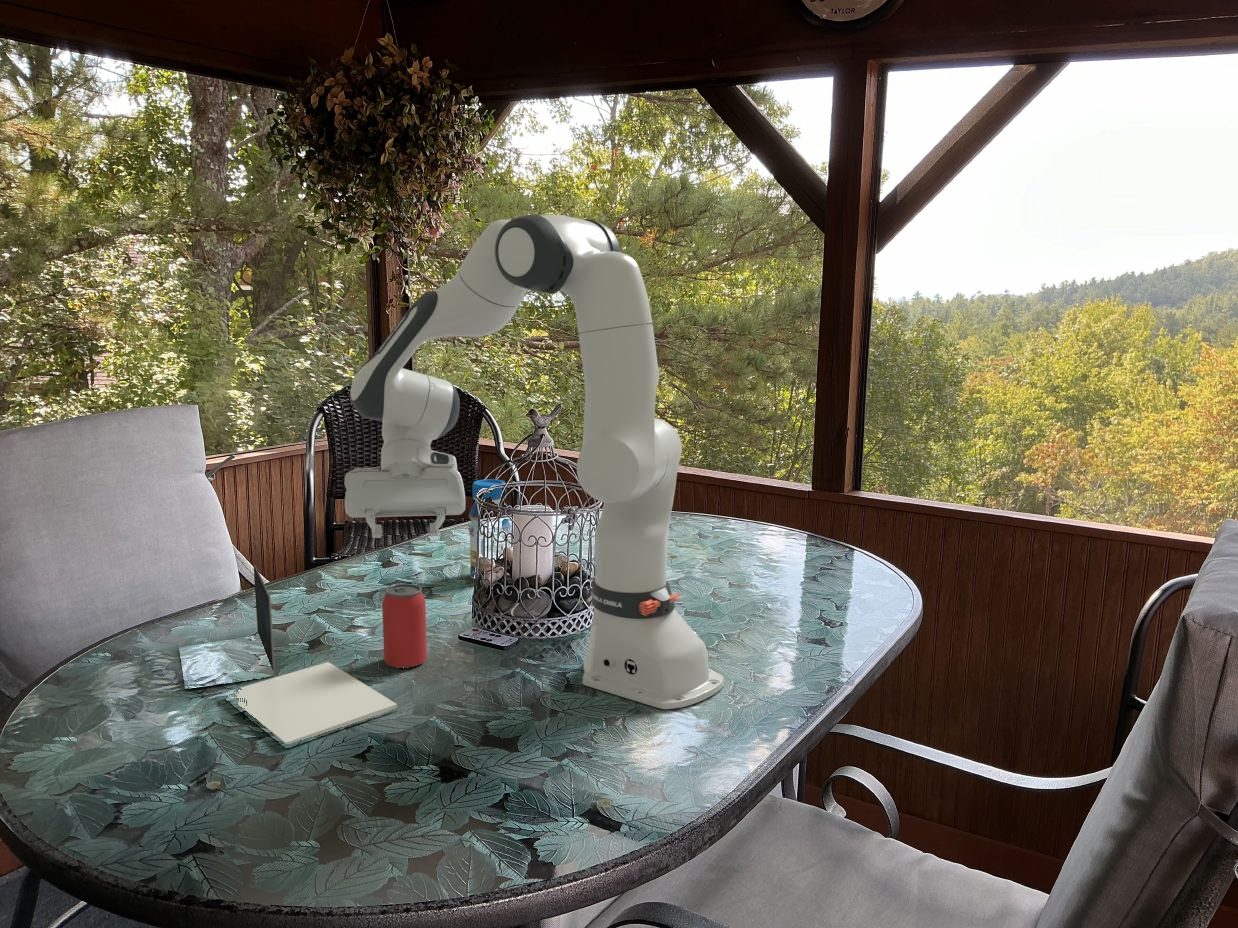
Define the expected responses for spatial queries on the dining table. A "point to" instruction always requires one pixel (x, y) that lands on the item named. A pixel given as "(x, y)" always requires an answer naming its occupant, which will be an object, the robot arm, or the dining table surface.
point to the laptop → (264, 616)
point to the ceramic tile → (311, 702)
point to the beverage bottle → (473, 516)
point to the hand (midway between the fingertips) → (405, 535)
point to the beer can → (404, 626)
